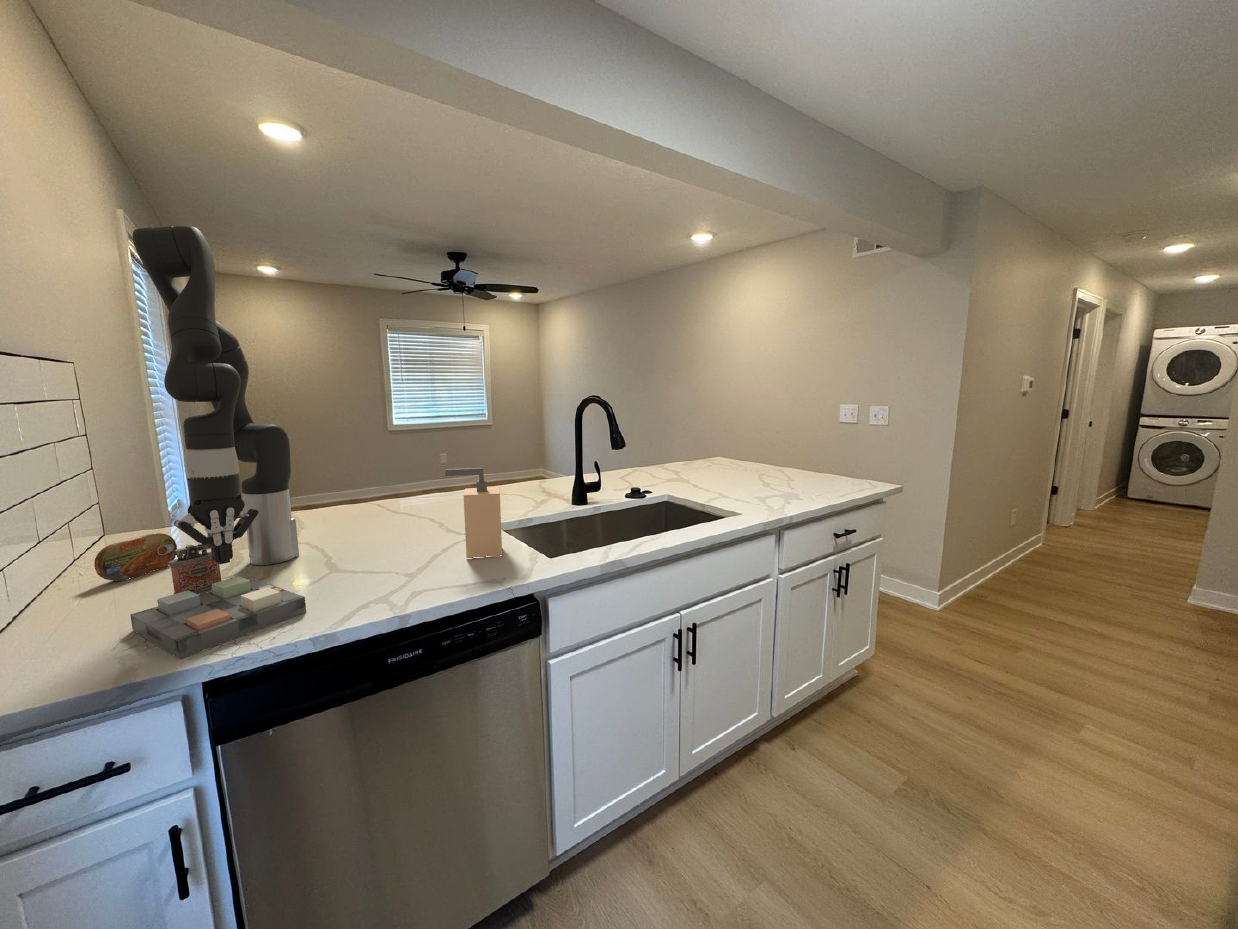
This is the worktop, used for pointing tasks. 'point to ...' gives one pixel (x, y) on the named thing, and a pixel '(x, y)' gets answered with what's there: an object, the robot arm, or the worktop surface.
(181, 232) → the robot arm
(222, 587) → the sage key
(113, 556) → the tin
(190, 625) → the terracotta key
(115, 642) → the worktop surface
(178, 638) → the keypad
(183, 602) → the slate key
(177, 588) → the lighter
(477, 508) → the soap dispenser
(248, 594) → the cream key
